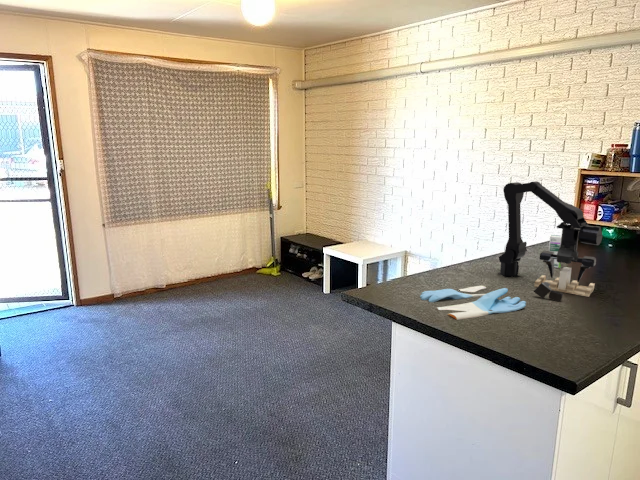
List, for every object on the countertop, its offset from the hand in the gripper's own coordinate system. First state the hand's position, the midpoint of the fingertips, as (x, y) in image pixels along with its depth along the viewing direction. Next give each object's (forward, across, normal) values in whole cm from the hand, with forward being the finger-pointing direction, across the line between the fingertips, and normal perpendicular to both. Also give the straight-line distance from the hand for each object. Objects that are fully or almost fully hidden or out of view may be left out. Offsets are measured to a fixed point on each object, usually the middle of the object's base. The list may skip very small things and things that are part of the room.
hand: (564, 279), depth 181 cm
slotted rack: (+3, 0, 0) cm, 3 cm away
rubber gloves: (+4, -23, -38) cm, 45 cm away
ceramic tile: (+3, 0, 0) cm, 3 cm away
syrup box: (+4, -11, +34) cm, 36 cm away
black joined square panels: (+4, -2, -18) cm, 18 cm away
